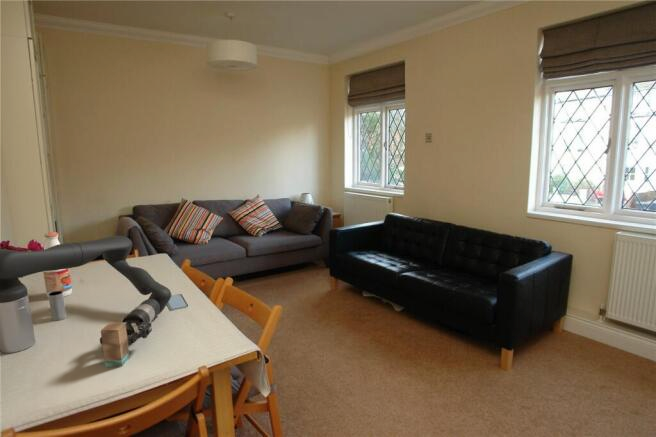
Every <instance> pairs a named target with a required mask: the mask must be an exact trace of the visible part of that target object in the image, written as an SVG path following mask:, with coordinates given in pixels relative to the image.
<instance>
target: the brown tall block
mask: <svg viewBox="0 0 656 437" xmlns="http://www.w3.org/2000/svg"><path fill="white" fill-rule="evenodd" d="M100 336H102V344H103V345H102V349H103V350H102V351H103V358H104V359H103V360H104V365H105V367H106V368H115V367H117V368H119V367H120V368H121V367H124V365H125V364H126V362H127V361H128V360H129V359H130V350H129V341H128V335H127V331H126V322H122V321H121V322H108V323H107V324H106V325H105V326H104V327H103V328H102V329H101V330H100Z"/></svg>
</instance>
